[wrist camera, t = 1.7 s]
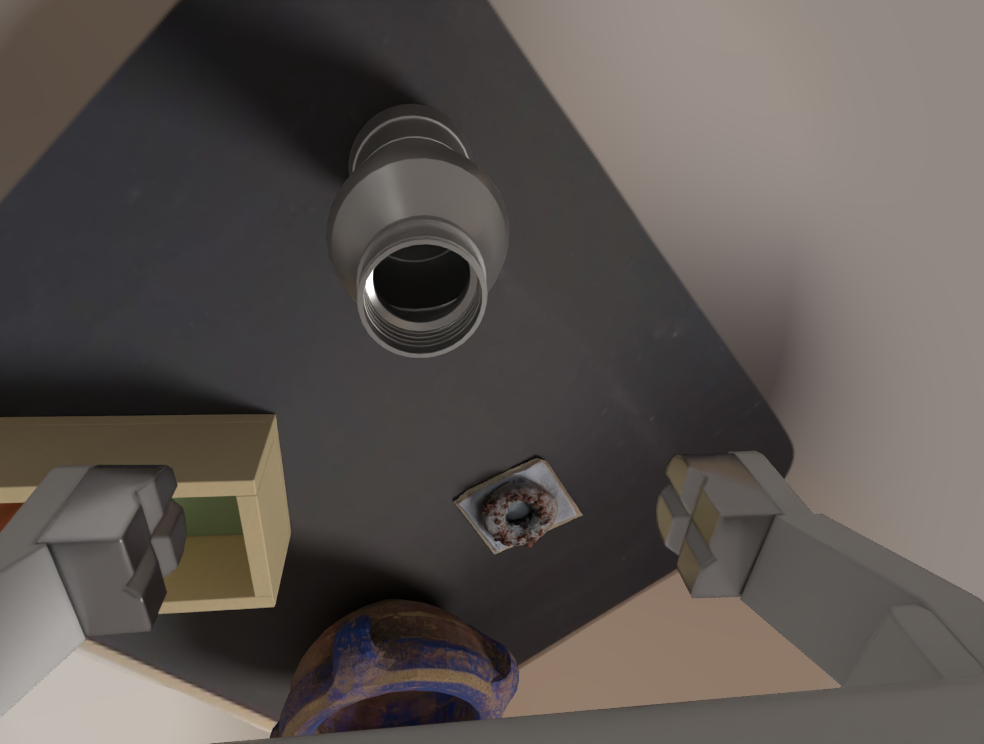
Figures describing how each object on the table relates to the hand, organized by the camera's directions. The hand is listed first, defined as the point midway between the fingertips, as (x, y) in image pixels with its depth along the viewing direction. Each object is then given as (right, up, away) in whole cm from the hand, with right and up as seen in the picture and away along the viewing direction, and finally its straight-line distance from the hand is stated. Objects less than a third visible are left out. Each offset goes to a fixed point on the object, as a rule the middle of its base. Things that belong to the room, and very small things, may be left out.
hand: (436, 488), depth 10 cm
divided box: (-25, -6, +32) cm, 41 cm away
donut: (+3, -9, +39) cm, 40 cm away
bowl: (-8, -22, +45) cm, 50 cm away
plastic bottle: (-4, +14, +24) cm, 28 cm away
